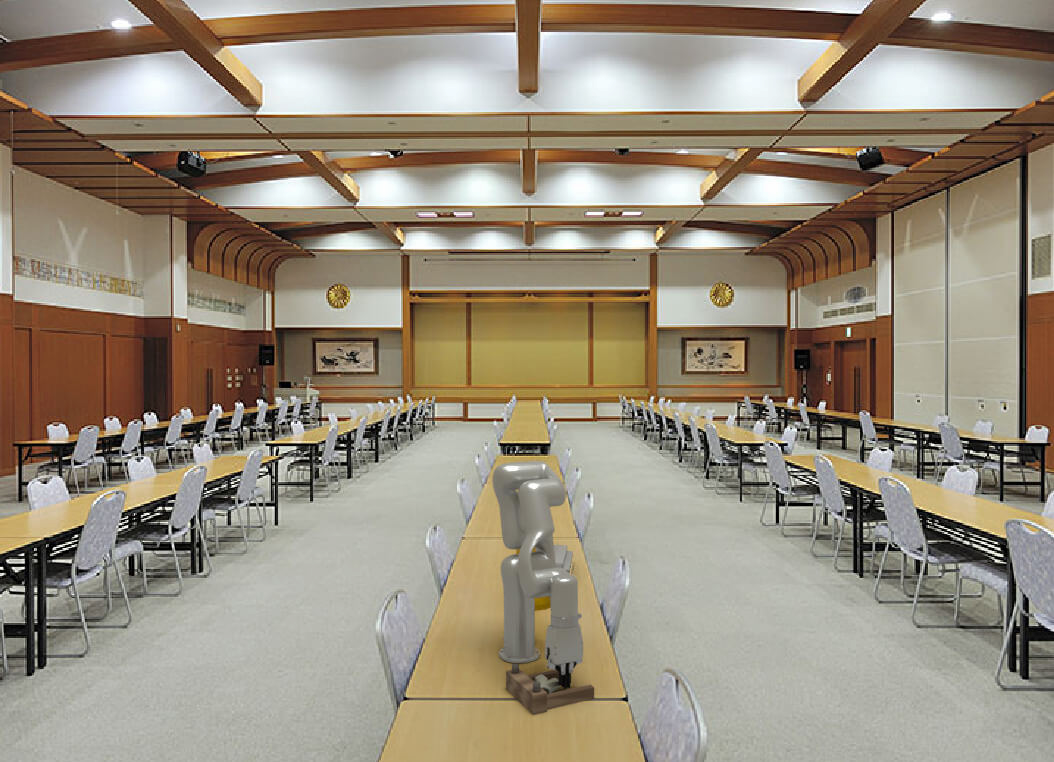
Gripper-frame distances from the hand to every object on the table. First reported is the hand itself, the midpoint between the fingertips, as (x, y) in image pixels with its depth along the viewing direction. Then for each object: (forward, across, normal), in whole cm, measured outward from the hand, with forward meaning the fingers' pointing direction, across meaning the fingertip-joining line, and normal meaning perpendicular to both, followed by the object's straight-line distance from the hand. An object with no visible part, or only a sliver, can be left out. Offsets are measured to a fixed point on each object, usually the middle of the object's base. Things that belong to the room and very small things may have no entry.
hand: (565, 686), depth 203 cm
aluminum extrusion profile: (0, -53, -103) cm, 116 cm away
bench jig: (+2, +5, -1) cm, 5 cm away
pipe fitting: (+2, +4, -2) cm, 5 cm away
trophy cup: (0, -26, -73) cm, 77 cm away
